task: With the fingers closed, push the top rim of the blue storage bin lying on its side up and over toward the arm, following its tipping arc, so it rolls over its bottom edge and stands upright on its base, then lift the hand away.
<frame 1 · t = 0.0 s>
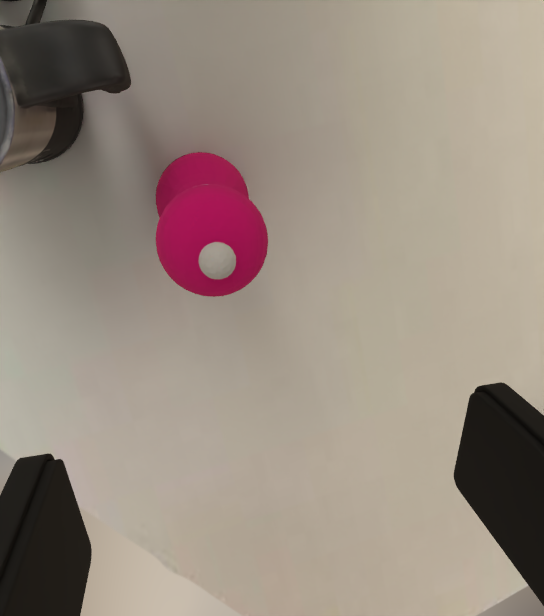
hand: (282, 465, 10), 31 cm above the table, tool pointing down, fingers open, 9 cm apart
pepper mill: (200, 191, 37), on the table
milk frother: (9, 36, 30), on the table
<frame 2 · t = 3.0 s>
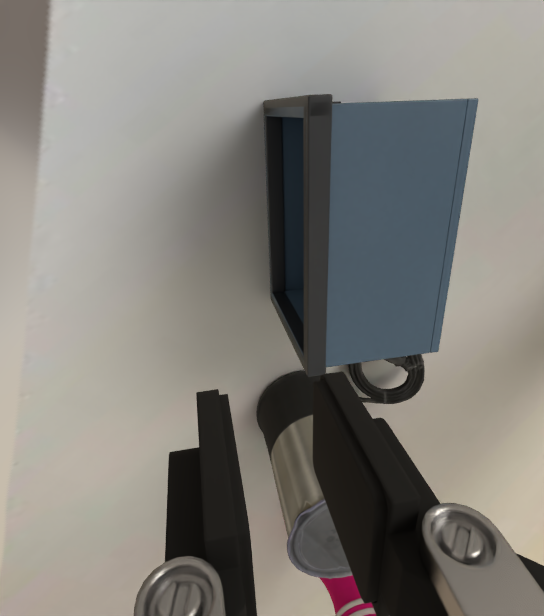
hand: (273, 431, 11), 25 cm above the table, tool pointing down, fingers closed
pepper mill: (319, 502, 50), on the table
blue storage bin: (321, 206, 34), on the table
milk frother: (331, 383, 43), on the table
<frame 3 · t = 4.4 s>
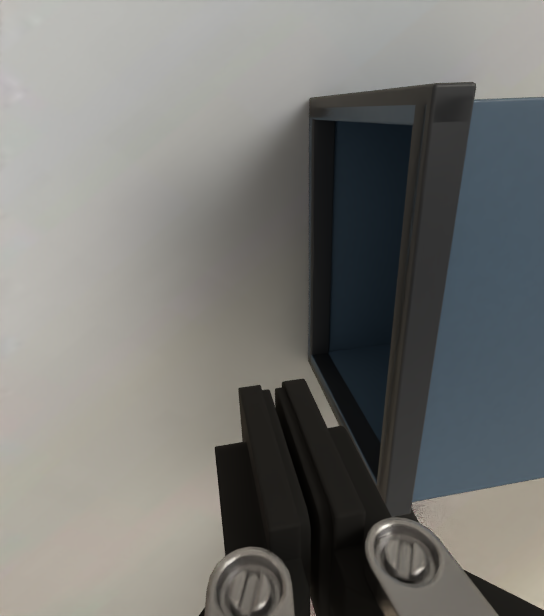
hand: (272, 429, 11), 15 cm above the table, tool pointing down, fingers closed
blue storage bin: (380, 241, 25), on the table
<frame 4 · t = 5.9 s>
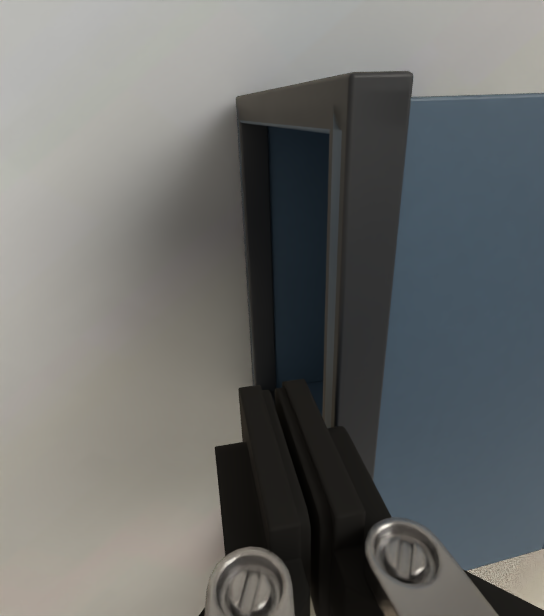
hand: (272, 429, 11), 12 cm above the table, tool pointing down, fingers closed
blue storage bin: (330, 263, 22), on the table, touching gripper
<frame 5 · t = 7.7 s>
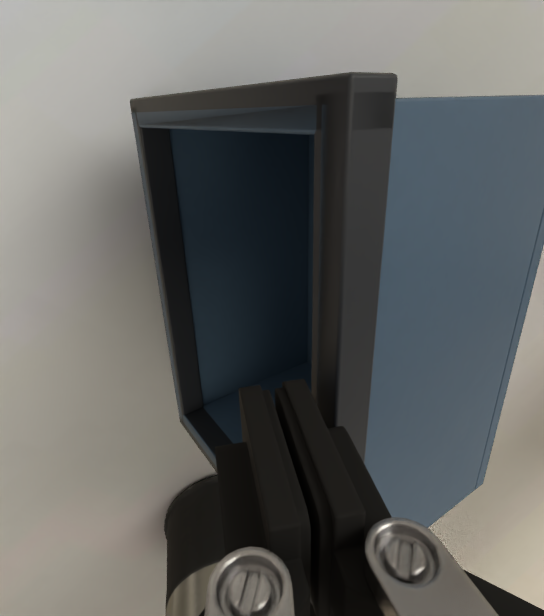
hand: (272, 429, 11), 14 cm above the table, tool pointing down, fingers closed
blue storage bin: (242, 267, 22), point 2 cm above the table, tilted 23°, touching gripper
milk frother: (269, 484, 31), on the table
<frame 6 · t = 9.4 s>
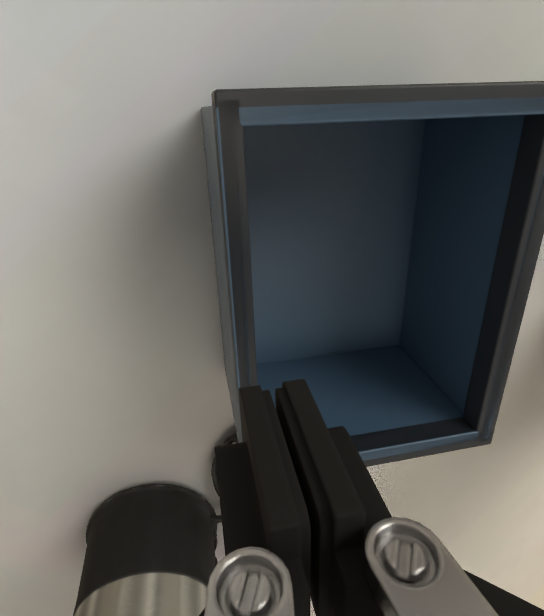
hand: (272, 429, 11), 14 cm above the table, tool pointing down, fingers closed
blue storage bin: (222, 287, 19), point 5 cm above the table, tilted 90°
milk frother: (196, 495, 31), on the table
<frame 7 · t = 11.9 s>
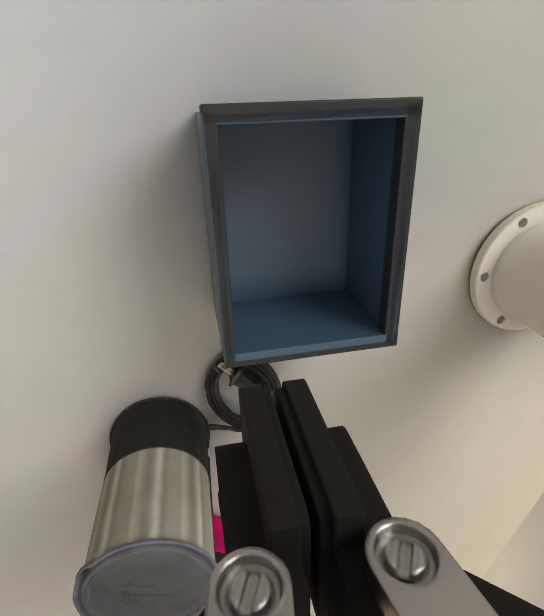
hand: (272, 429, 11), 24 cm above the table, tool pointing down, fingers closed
pepper mill: (202, 531, 47), on the table
blue storage bin: (209, 234, 28), point 5 cm above the table, tilted 90°
milk frother: (193, 409, 40), on the table
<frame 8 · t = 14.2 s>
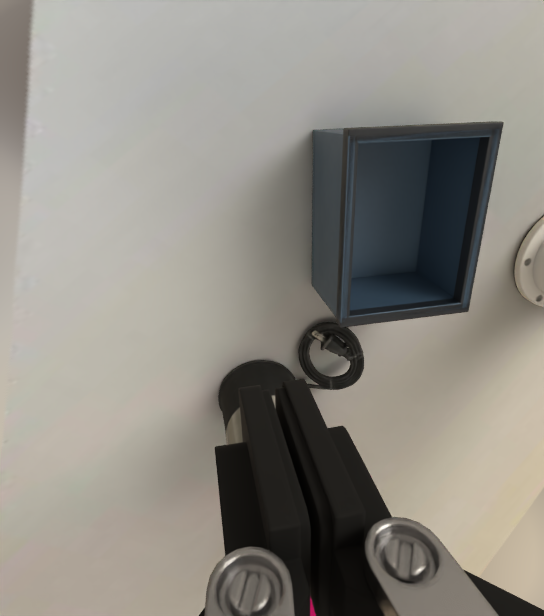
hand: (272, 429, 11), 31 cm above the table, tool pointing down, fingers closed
blue storage bin: (326, 224, 37), point 5 cm above the table, tilted 90°
milk frother: (285, 371, 48), on the table
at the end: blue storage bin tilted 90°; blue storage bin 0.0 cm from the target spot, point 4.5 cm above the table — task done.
